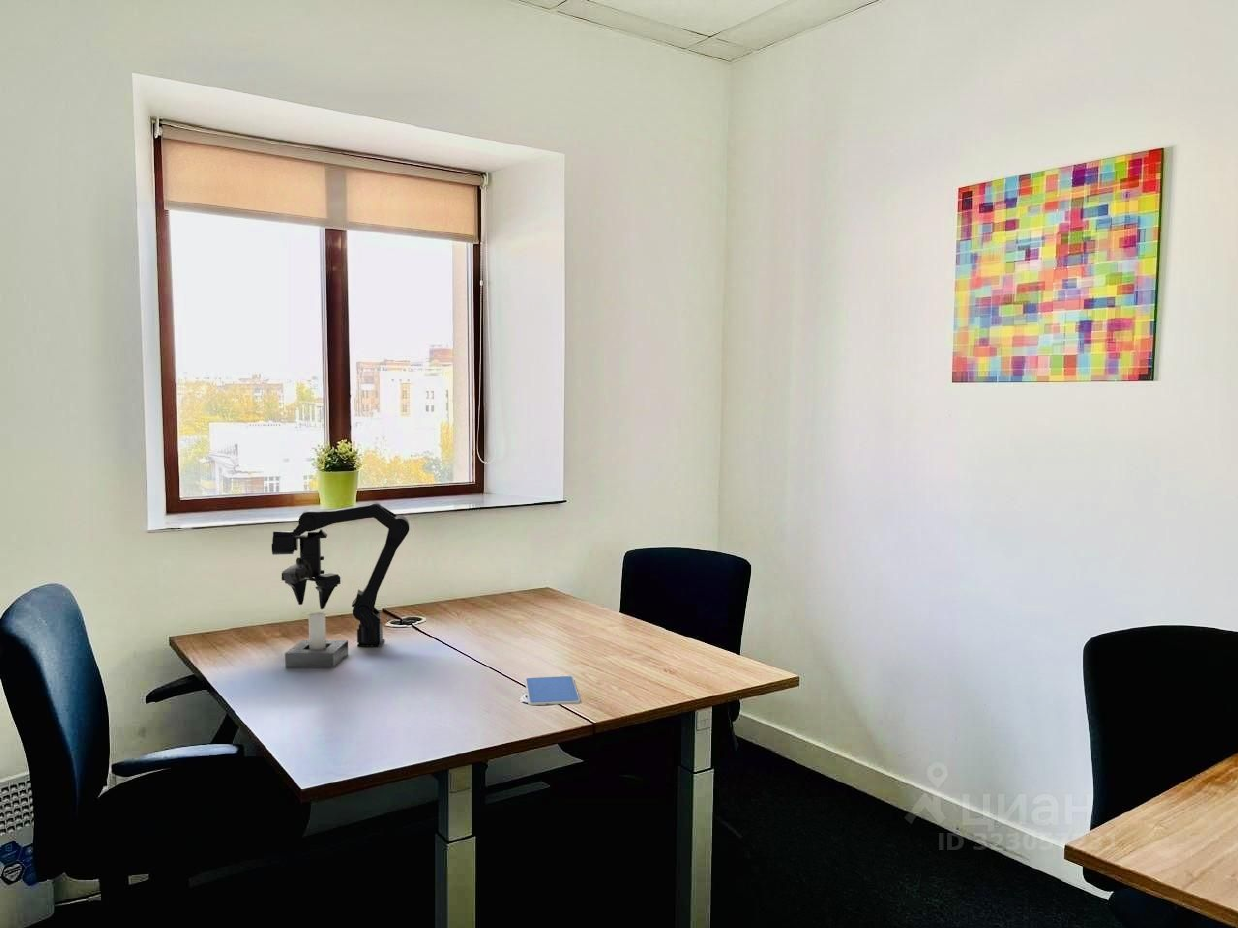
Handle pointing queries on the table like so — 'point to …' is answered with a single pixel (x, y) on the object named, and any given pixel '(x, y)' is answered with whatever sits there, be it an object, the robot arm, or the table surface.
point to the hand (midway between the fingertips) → (311, 606)
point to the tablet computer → (551, 690)
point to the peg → (317, 631)
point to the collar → (316, 655)
